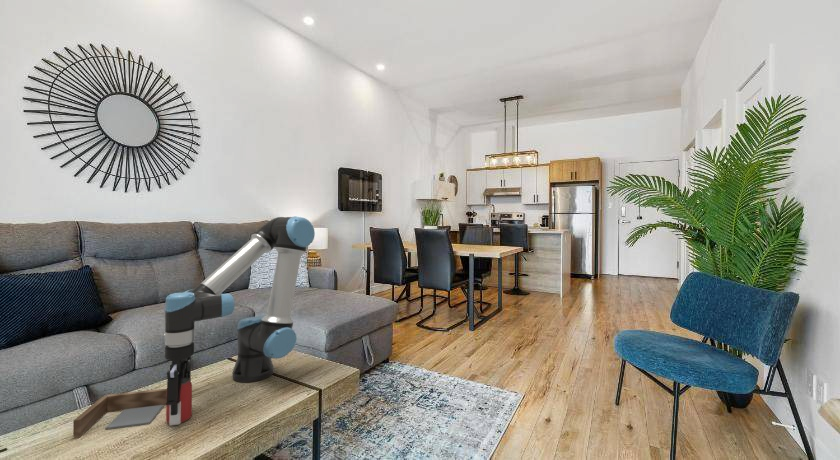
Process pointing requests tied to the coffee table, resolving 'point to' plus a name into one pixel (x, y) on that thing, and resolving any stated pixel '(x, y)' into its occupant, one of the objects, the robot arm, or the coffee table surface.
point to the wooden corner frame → (116, 407)
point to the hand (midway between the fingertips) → (179, 417)
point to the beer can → (183, 400)
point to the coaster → (135, 417)
